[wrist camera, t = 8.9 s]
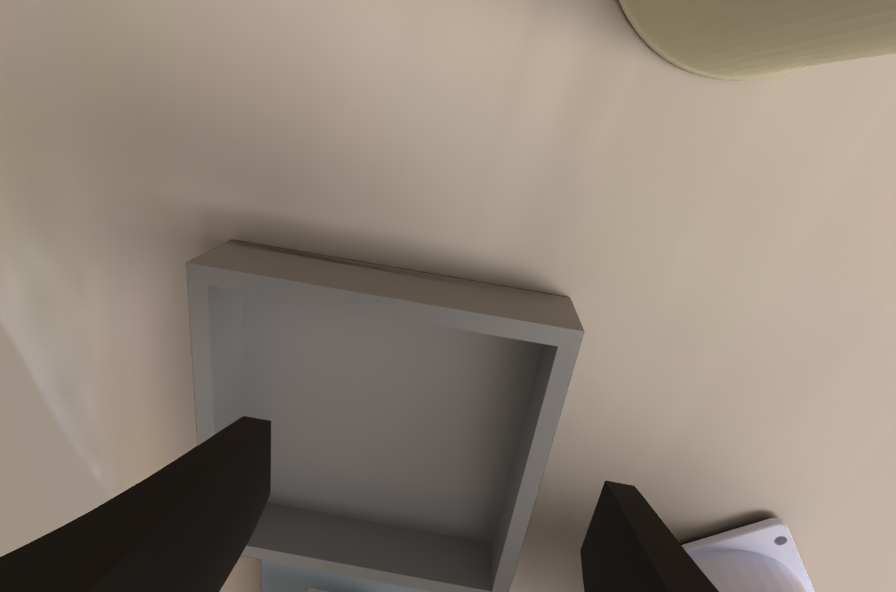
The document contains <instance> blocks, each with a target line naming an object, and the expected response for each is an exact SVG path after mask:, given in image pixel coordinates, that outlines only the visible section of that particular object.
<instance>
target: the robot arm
mask: <svg viewBox="0 0 896 592" xmlns="http://www.w3.org/2000/svg"><path fill="white" fill-rule="evenodd" d="M270 494H271V421H269V420H264V419H258V418H252V417H247V416H243V417H241V418H239V419H238V420H236V421H235V422H233V423H232V424H230V425H229V426H227V427H226V428H224V429H222V430H221V431H219V432H218V433H216V434H215V435H213V436H212V437H210V438H209V439H207V440H206V441H204V442H203V443H201V444H200V445H198V446H197V447H195V448H193V449H192V450H190V451H189V452H187V453H186V454H184V455H183V456H181V457H180V458H178V459H177V460H175V461H173V462H172V463H170V464H169V465H167V466H165V467H164V468H162V469H161V470H159V471H158V472H156V473H154V474H153V475H151V476H150V477H148V478H147V479H145V480H143V481H141V482H140V483H138V484H136V485H135V486H133V487H131V488H129V489H128V490H126V491H124V492H123V493H121V494H119V495H117V496H116V497H114V498H112V499H111V500H109V501H108V502H106V503H104V504H102V505H100V506H99V507H97V508H95V509H94V510H92V511H90V512H88V513H86V514H85V515H83V516H81V517H79V518H77V519H75V520H73V521H72V522H70V523H68V524H66V525H64V526H62V527H60V528H58V529H56V530H54V531H53V532H51V533H48V534H46V535H45V536H42V537H41V538H38V539H37V540H34V541H33V542H31V543H29V544H27V545H25V546H23V547H21V548H19V549H17V550H15V551H12V552H10V553H8V554H6V555H4V556H2V557H0V592H219V591H220V589H221V588H222V586H223V584H224V583H225V581H226V579H227V578H228V576H229V574H230V573H231V571H232V569H233V567H234V566H235V564H236V562H237V561H238V559H239V557H240V556H241V554H242V552H243V550H244V549H245V547H246V545H247V544H248V542H249V540H250V538H251V536H252V534H253V532H254V529H255V527H256V525H257V523H258V521H259V519H260V516H261V514H262V512H263V510H264V507H265V505H266V503H267V501H268V498H269V496H270ZM581 561H582V572H583V582H584V591H585V592H815V591H814V589H813V586H812V584H811V581H810V579H809V577H808V574H807V572H806V569H805V567H804V565H803V562H802V560H801V557H800V555H799V553H798V550H797V548H796V545H795V543H794V541H793V538H792V536H791V533H790V531H789V529H788V527H787V526H786V524H785V523H784V522H783V520H781V519H778V518H770V519H767V520H763V521H760V522H757V523H753V524H750V525H747V526H743V527H740V528H737V529H733V530H730V531H727V532H723V533H720V534H717V535H713V536H710V537H707V538H703V539H700V540H697V541H693V542H690V543H687V544H683V545H681V544H680V543H679V542H678V541H677V539H676V538H675V537H674V536H673V534H672V533H671V532H670V530H669V529H668V528H667V527H666V525H665V524H664V523H663V522H662V520H661V519H660V518H659V516H658V515H657V514H656V513H655V511H654V510H653V509H652V507H651V506H650V505H649V504H648V502H647V501H646V500H645V499H644V497H643V496H642V495H641V494H640V492H639V491H638V490H637V489H636V487H635V486H632V485H626V484H621V483H615V482H610V481H605V483H604V486H603V489H602V491H601V494H600V497H599V500H598V503H597V506H596V508H595V511H594V514H593V517H592V520H591V522H590V525H589V528H588V531H587V534H586V537H585V539H584V542H583V545H582V548H581Z"/></svg>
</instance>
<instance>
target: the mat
mask: <svg viewBox="0 0 896 592" xmlns="http://www.w3.org/2000/svg"><path fill="white" fill-rule="evenodd" d="M309 588H314V589H319V590H324V591H329V592H430V591H425V590H419V589H414V588H409V587H403V586H398V585H393V584H387V583H382V582H377V581H371V580H366V579H361V578H355V577H350V576H345V575H339V574H334V573H329V572H323V571H318V570H313V569H307V568H302V567H297V566H291V565H286V564H281V563H275V562H270V561H265V560H261V592H308V590H309Z"/></svg>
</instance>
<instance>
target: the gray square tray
mask: <svg viewBox="0 0 896 592" xmlns="http://www.w3.org/2000/svg"><path fill="white" fill-rule="evenodd" d="M186 268H187V284H188V300H189V316H190V332H191V348H192V364H193V380H194V396H195V412H196V428H197V444H198V445H200V444H201V443H203V442H204V441H206V440H207V439H209V438H210V437H212V436H213V435H215V434H216V433H218V432H219V431H221V430H222V429H224V428H226V427H227V426H229V425H230V424H232V423H233V422H235V421H236V420H238V419H239V418H241V417H243V416H247V417H252V418H258V419H264V420H269V421H271V494H270V496H269V498H268V501H267V503H266V505H265V507H264V510H263V512H262V514H261V516H260V519H259V521H258V523H257V525H256V527H255V529H254V532H253V534H252V536H251V538H250V540H249V542H248V544H247V545H246V547H245V549H244V550H243V552H242V554H241V556H243V557H249V558H254V559H259V560H265V561H270V562H275V563H281V564H286V565H291V566H297V567H302V568H307V569H313V570H318V571H323V572H329V573H334V574H339V575H345V576H350V577H355V578H361V579H366V580H371V581H377V582H382V583H387V584H393V585H398V586H403V587H409V588H414V589H419V590H425V591H430V592H509V589H510V586H511V583H512V579H513V576H514V572H515V569H516V565H517V562H518V558H519V555H520V552H521V548H522V545H523V541H524V538H525V534H526V531H527V527H528V524H529V520H530V517H531V514H532V510H533V507H534V503H535V500H536V496H537V493H538V489H539V486H540V483H541V479H542V476H543V472H544V469H545V465H546V462H547V458H548V455H549V452H550V448H551V445H552V441H553V438H554V434H555V431H556V427H557V424H558V420H559V417H560V414H561V410H562V407H563V403H564V400H565V396H566V393H567V389H568V386H569V383H570V379H571V376H572V372H573V369H574V365H575V362H576V358H577V355H578V352H579V348H580V345H581V341H582V338H583V334H584V330H583V327H582V325H581V322H580V320H579V318H578V315H577V313H576V310H575V308H574V306H573V303H572V301H571V299H570V298H569V297H563V296H558V295H552V294H546V293H540V292H534V291H528V290H523V289H517V288H511V287H505V286H499V285H493V284H488V283H482V282H476V281H470V280H464V279H458V278H453V277H447V276H441V275H435V274H429V273H423V272H418V271H412V270H406V269H400V268H394V267H388V266H383V265H377V264H371V263H365V262H359V261H354V260H348V259H342V258H336V257H330V256H324V255H319V254H313V253H307V252H301V251H295V250H289V249H284V248H278V247H272V246H266V245H260V244H254V243H249V242H243V241H237V240H230V241H228V242H226V243H224V244H222V245H220V246H218V247H216V248H214V249H212V250H210V251H208V252H206V253H204V254H202V255H200V256H198V257H196V258H194V259H192V260H190V261H188V262H186Z"/></svg>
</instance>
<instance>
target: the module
mask: <svg viewBox="0 0 896 592" xmlns="http://www.w3.org/2000/svg"><path fill="white" fill-rule="evenodd" d="M308 592H329V591H324V590H319V589H314V588H309V590H308Z"/></svg>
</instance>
